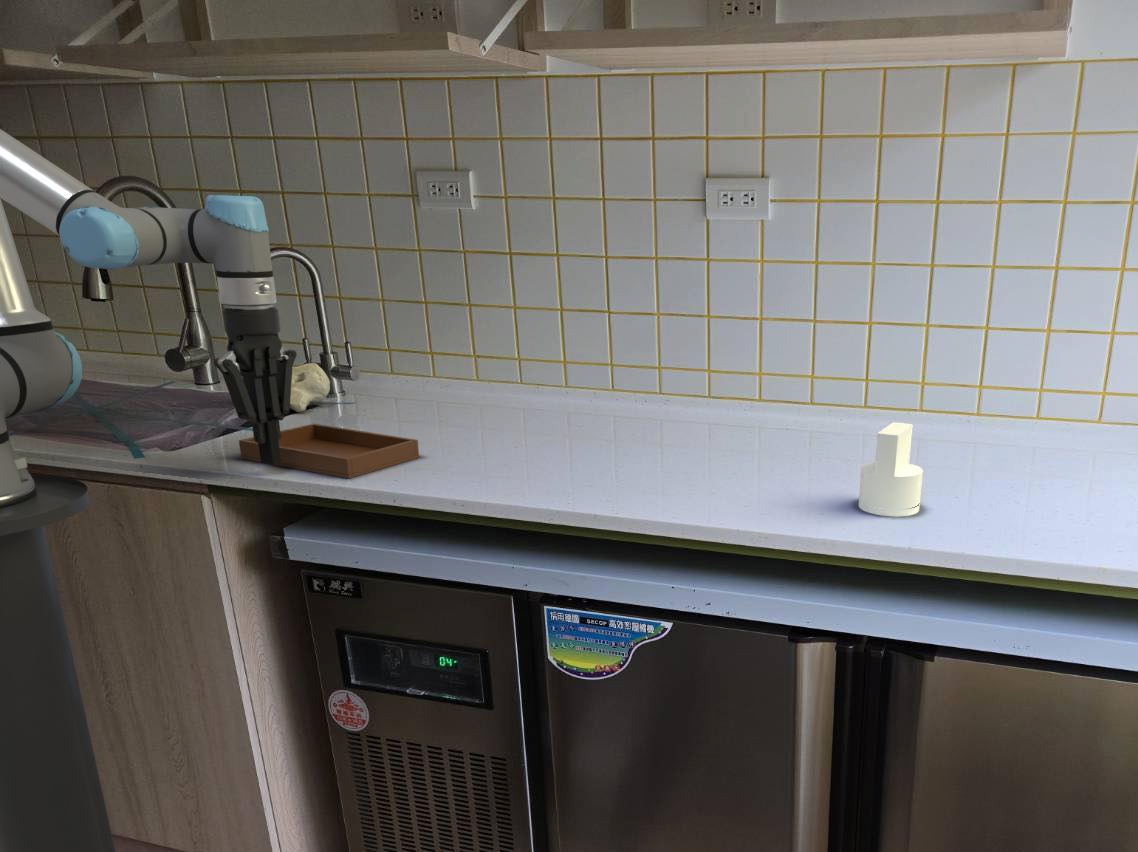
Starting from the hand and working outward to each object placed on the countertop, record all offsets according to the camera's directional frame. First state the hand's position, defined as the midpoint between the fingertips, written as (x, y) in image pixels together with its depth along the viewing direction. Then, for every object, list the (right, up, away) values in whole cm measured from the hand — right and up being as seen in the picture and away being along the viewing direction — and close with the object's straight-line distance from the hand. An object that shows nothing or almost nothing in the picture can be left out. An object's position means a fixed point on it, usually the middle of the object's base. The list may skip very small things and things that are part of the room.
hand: (271, 462), depth 152 cm
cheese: (-20, +16, +48) cm, 55 cm away
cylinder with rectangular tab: (+95, -8, -6) cm, 96 cm away
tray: (+5, +2, +11) cm, 12 cm away
